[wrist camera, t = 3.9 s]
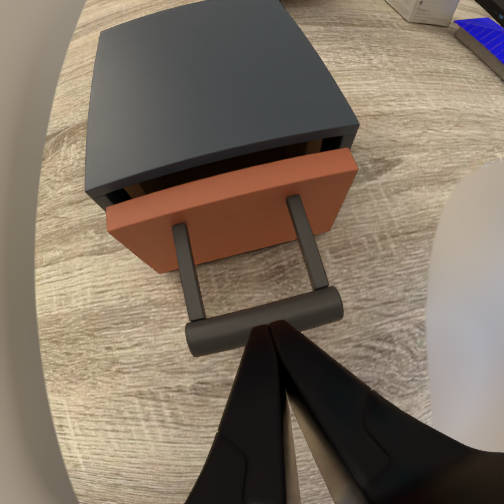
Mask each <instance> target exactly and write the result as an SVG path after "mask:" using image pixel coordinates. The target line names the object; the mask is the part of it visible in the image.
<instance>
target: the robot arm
mask: <svg viewBox="0 0 504 504" xmlns="http://www.w3.org/2000/svg"><path fill="white" fill-rule="evenodd" d="M287 397H288V399H287ZM288 400H289V403H290V405H291V408H292V410H293V412H294V415H295V417H296V419H297V421H298V424H299V426H300V428H301V430H302V433H303V435H304V437H305V439H306V442H307V444H308V446H309V448H310V450H311V453H312V455H313V457H314V459H315V462H316V464H317V466H318V468H319V470H320V473H321V475H322V477H323V479H324V481H325V483H326V486H327V488H328V490H329V492H330V494H331V496H332V499H333V501H334V503H335V504H504V453H502V452H486V451H481V450H477V449H474V448H471V447H468V446H466V445H464V444H462V443H460V442H458V441H456V440H454V439H452V438H450V437H448V436H446V435H445V434H443V433H441V432H439V431H437V430H435V429H433V428H432V427H430V426H428V425H426V424H424V423H422V422H421V421H419V420H417V419H415V418H414V417H412V416H410V415H409V414H407V413H405V412H404V411H402V410H400V409H399V408H398V407H396V406H395V405H393V404H392V403H390V402H389V401H388V400H386V399H385V398H384V397H382V396H381V395H380V394H378V393H377V392H376V391H375V390H371V388H370V387H369V386H368V385H366V384H365V383H364V382H363V381H361V380H360V379H359V378H357V377H356V376H355V375H354V374H352V373H351V372H350V371H349V370H347V369H346V368H345V367H343V366H342V365H341V364H340V363H338V362H337V361H336V360H335V359H333V358H332V357H331V356H330V355H328V354H327V353H326V352H324V351H323V350H322V349H321V348H319V347H318V346H317V345H316V344H314V343H313V342H312V341H311V340H309V339H308V338H307V337H306V336H304V335H303V334H302V333H301V332H300V331H298V330H297V329H296V328H295V327H293V326H292V325H291V324H290V323H288V322H287V321H286V320H284V319H280V320H277V321H273V322H270V323H269V326H268V324H261V325H257V326H254V327H252V329H251V331H250V334H249V337H248V340H247V344H246V347H245V350H244V353H243V356H242V359H241V362H240V365H239V368H238V371H237V374H236V377H235V380H234V383H233V386H232V389H231V392H230V395H229V398H228V401H227V404H226V407H225V409H224V412H223V415H222V418H221V421H220V424H219V427H218V432H217V433H216V435H215V438H214V441H213V444H212V447H211V449H210V452H209V454H208V457H207V459H206V462H205V464H204V467H203V469H202V471H201V473H200V475H199V477H198V479H197V481H196V483H195V485H194V487H193V489H192V490H191V492H190V494H189V496H188V498H187V500H186V501H185V503H184V504H301V498H300V490H299V481H298V473H297V465H296V457H295V449H294V441H293V433H292V425H291V417H290V410H289V404H288Z"/></svg>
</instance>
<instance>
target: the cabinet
mask: <svg viewBox="0 0 504 504" xmlns="http://www.w3.org/2000/svg"><path fill="white" fill-rule="evenodd" d="M359 125H360V124H359V122H358V120H357V118H356V116H355V114H354V113H353V111H352V109H351V107H350V105H349V104H348V102H347V100H346V99H345V97H344V95H343V93H342V92H341V90H340V88H339V87H338V85H337V83H336V82H335V80H334V79H333V77H332V75H331V74H330V72H329V71H328V69H327V67H326V66H325V64H324V63H323V61H322V60H321V58H320V57H319V55H318V54H317V52H316V51H315V49H314V48H313V46H312V45H311V43H310V42H309V40H308V39H307V38H306V36H305V35H304V33H303V32H302V30H301V29H300V28H299V26H298V25H297V24H296V22H295V21H294V19H293V18H292V17H291V15H290V14H289V13H288V12H287V10H286V9H285V8H284V6H283V5H282V4H281V2H280V1H279V0H205V1H200V2H196V3H191V4H187V5H183V6H179V7H175V8H171V9H167V10H164V11H160V12H157V13H153V14H150V15H146V16H143V17H140V18H137V19H134V20H131V21H128V22H125V23H122V24H120V25H117V26H114V27H111V28H109V29H106V30H104V31H101V32H100V36H99V42H98V47H97V53H96V59H95V65H94V71H93V78H92V86H91V94H90V103H89V113H88V124H87V138H86V157H85V193H86V194H87V195H88V196H89V197H90V198H92V199H93V200H94V201H95V202H96V203H97V204H98V205H99V206H100V207H101V208H102V209H103V210H104V211H105V212H106V207H109V206H112V205H115V204H118V203H121V202H124V201H128V200H131V199H132V198H131V197H130V195H129V194H128V193H127V192H126V190H125V189H124V188H125V187H128V186H131V185H134V184H138V183H141V182H144V181H147V180H151V179H154V178H157V177H161V176H164V175H168V174H171V173H175V172H178V171H182V170H185V169H189V168H193V167H196V166H200V165H204V164H208V163H212V162H216V161H220V160H224V159H228V158H232V157H236V156H240V155H245V154H249V153H254V152H258V151H263V150H267V149H272V148H277V147H281V146H286V145H291V144H297V143H302V142H307V141H312V140H318V139H323V141H322V145H321V150H320V152H325V151H330V150H336V149H341V148H349V150H350V149H351V147H352V144H353V141H354V138H355V136H356V133H357V131H358V128H359Z"/></svg>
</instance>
